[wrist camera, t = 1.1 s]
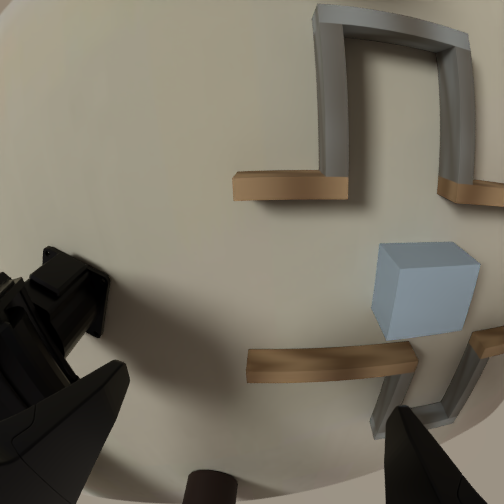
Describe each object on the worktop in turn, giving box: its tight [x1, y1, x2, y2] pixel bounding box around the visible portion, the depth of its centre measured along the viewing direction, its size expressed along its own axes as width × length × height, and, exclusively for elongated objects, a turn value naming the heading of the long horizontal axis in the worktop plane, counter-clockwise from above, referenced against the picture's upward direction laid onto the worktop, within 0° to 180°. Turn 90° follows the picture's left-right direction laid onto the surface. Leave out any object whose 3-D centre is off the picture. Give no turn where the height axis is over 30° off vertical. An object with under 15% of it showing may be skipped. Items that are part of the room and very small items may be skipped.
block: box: [371, 242, 481, 341], centre depth 18 cm, size 6×5×4 cm
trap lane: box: [232, 4, 504, 440], centre depth 18 cm, size 28×34×4 cm
